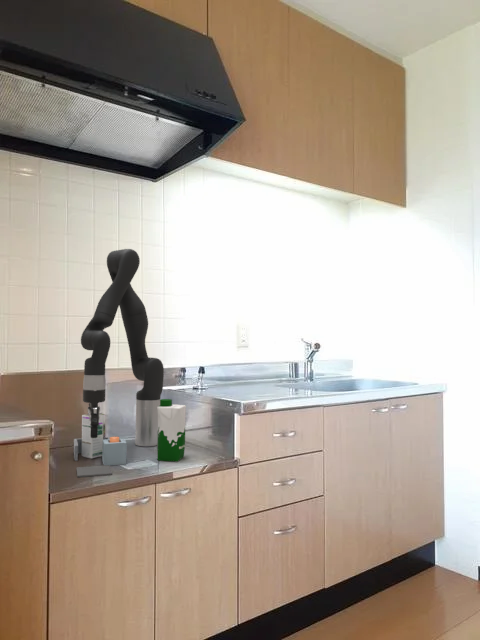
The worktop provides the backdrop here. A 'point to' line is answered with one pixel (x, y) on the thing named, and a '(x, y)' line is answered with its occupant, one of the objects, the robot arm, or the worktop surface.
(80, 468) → the mat
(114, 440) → the plunger
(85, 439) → the syrup box
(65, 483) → the worktop surface
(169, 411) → the milk carton
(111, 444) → the grey square socket
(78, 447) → the grey u-shaped frame
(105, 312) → the robot arm
